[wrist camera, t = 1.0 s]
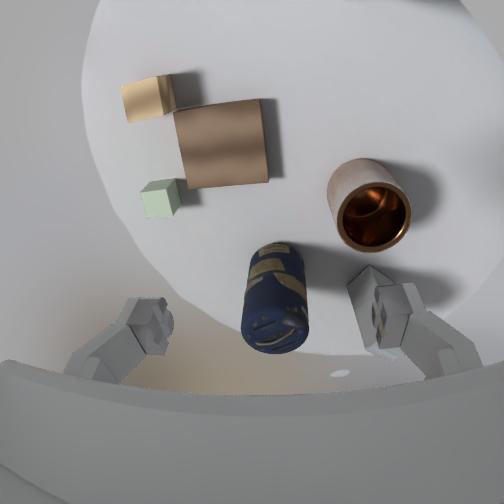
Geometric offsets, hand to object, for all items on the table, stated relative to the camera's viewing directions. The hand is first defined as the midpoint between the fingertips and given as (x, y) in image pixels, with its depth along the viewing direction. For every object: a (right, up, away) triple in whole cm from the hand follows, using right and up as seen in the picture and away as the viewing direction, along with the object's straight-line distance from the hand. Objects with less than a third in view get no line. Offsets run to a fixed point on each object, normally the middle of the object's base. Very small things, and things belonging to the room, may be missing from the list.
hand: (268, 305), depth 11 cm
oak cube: (-15, +25, +28) cm, 40 cm away
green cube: (-15, +12, +37) cm, 42 cm away
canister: (+4, 0, +43) cm, 43 cm away
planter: (+16, +12, +34) cm, 39 cm away
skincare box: (+22, -4, +44) cm, 49 cm away
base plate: (-5, +18, +32) cm, 37 cm away
